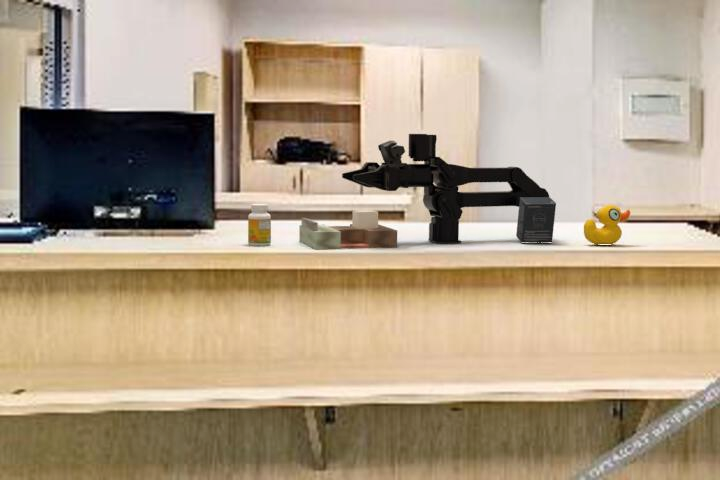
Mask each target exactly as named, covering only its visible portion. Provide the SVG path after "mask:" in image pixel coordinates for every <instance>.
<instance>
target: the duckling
mask: <svg viewBox="0 0 720 480" xmlns="http://www.w3.org/2000/svg"><path fill="white" fill-rule="evenodd" d="M630 215H631V211H630V209H626V211H624V212H622V211H621V209H620V208H619V207H618V206H616V205H613V204H611V205H610V204H608V205H605V206H604V207H602V208H600V209H599V210H597V211H596V216H597V218H598V220H599V222H600V223H601V224H602V225H603V226H602V227H600V228H598V227H597V225H596V222H595V220H594V219H592V218H588V219H587V220H586V221H585V222H584V224H583V234H584V238H585V239H586V240H587V241H588V242H589V243H591V244H593V243H594V244H593V245H596V244H613V243H615V244H616V243H617V242H618V241H619V240H620V239H621V237H622V234H623V233H622V229H621V226H620V225H618V224H619V223H620V222H625V221H627V220H628V219H629V218H630ZM613 245H614V244H613Z"/></svg>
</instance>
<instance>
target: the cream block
mask: <svg viewBox="0 0 720 480" xmlns="http://www.w3.org/2000/svg"><path fill="white" fill-rule="evenodd" d="M351 218H352V221H351V222H352V227H355V228H358V229H367V228H378V224H379V211H377V210H374V209H362V210H361V209H359V210H358V209H357V210H356V209H353V210H352V217H351Z"/></svg>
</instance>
